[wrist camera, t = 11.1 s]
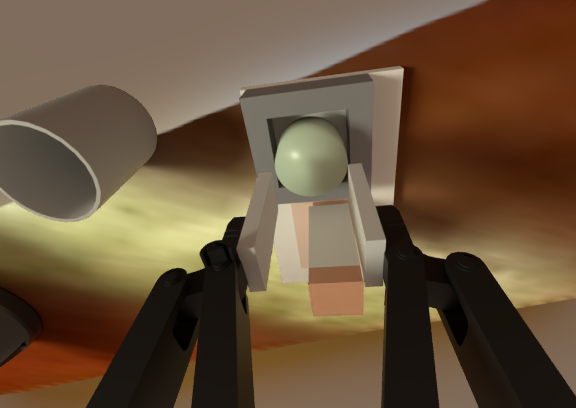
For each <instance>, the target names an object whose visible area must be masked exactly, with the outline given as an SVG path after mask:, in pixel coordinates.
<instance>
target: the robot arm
mask: <svg viewBox="0 0 576 408" xmlns="http://www.w3.org/2000/svg"><path fill="white" fill-rule="evenodd" d="M348 183H349V206H350V211H351V216H352V221H353V226H354V231H355V236H356V241H357V246H358V252H359V257H360V262H361V267H362V272H363V277H364V282H365V287H373V286H383V279H384V283H385V287H386V289H385V302H384V305H385V312H384V342H383V372H382V402H381V408H439V400H438V391H437V381H436V373H435V362H434V353H433V343H432V333H431V324H430V314H429V307H432V308H436V309H437V311H438V313H439V315H440V318H441V320H442V322H443V325H444V327H445V329H446V332H447V334H448V336H449V339H450V341H451V343H452V346H453V348H454V350H455V353H456V355H457V358H458V360H459V362H460V365H461V367H462V369H463V372H464V374H465V376H466V379H467V381H468V383H469V386H470V388H471V390H472V392H473V395H474V397H475V399H476V402H477V404H478V407H479V408H576V396H575V394H574V393H573V392H572V390H571V389H570V387H569V386H568V384H567V383H566V381H565V380H564V378H563V377H562V375H561V374H560V373H559V371H558V370H557V368H556V367H555V365H554V364H553V362H552V361H551V359H550V358H549V357H548V355H547V354H546V352H545V351H544V349H543V348H542V346H541V345H540V344H539V342H538V341H537V339H536V338H535V336H534V335H533V333H532V332H531V330H530V329H529V327H528V326H527V324H526V323H525V322H524V320H523V319H522V317H521V316H520V314H519V313H518V311H517V310H516V308H515V307H514V306H513V304H512V303H511V301H510V300H509V298H508V297H507V295H506V294H505V292H504V291H503V290H502V288H501V287H500V285H499V284H498V282H497V281H496V279H495V278H494V276H493V275H492V274H491V272H490V271H489V269H488V268H487V266H486V265H485V263H484V262H483V261H482V260H481V259H480V258H478V257H476V256H474V255H473V254H469V253H466V252H455V253H451V254H450V255H448V256H447V258H446V259H441V258H435V257H431V256H427V255H425V254H423V253H422V251H421V250H420V249H419V248H418V247H416V246H414V245H413V242H412V240H411V238H410V235H409V233H408V231H407V228H406V226H405V225H404V221H403V219H402V217H401V214H400V212H399V210H398V209H396V208H395V207H394V206H393V205H383V206H375V204H374V201H373V198H372V195H371V191H370V188H369V185H368V182H367V179H366V176H365V173H364V170H363V167H362V163H358V164H348ZM277 215H278V204H277V199H276V194H275V188H274V183H273V178H272V173H271V172H264V173H259V174H258V178H257V181H256V184H255V188H254V191H253V195H252V198H251V201H250V205H249V208H248V211H247V215H246V217H234V218H233V219H232V220H231V221H230V222H229V223H228V225H227V228H226V232H225V233H224V237H223V239H222V240H217V241H213V242H210V243H208V244H207V245H205V246H204V247H203V248H202V249H201V251H200V257H201V259H202V261H203V264H204V266H205V268H204V269H201V270H199V271H196V272H192V273H189V274H187V272H186V270H184V269H182V268H175V269H171V270H169V271H166V272H165V273H164V274H162V275H161V276H160V278H159V279H158V280H157V282H156V284H155V285H154V287H153V289H152V291H151V293H150V294H149V296H148V298H147V300H146V301H145V303H144V305H143V307H142V309H141V310H140V312H139V314H138V316H137V317H136V319H135V321H134V323H133V325H132V326H131V328H130V330H129V332H128V333H127V335H126V337H125V339H124V341H123V342H122V344H121V346H120V348H119V350H118V351H117V353H116V355H115V357H114V358H113V360H112V362H111V364H110V366H109V367H108V369H107V371H106V373H105V374H104V376H103V378H102V380H101V382H100V383H99V385H98V387H97V389H96V390H95V392H94V394H93V396H92V398H91V400H90V401H89V403H88V405H87V407H86V408H173V407H174V404H175V401H176V399H177V396H178V393H179V390H180V387H181V384H182V381H183V378H184V376H185V372H186V370H187V367H188V364H189V361H190V358H191V355H192V352H193V349H194V347H195V344H196V341H197V338H198V345H197V355H196V365H195V375H194V385H193V396H192V405H191V408H255V403H254V387H253V371H252V357H251V339H250V323H249V308H248V298H247V295H246V290H247V285H248V287H249V290H250V292H253V291H266V287H267V281H268V274H269V268H270V261H271V254H272V248H273V241H274V235H275V228H276V222H277ZM41 330H42V323H41V320H40V318H39V317H38V315H37V314H36V313H35V311H34V310H33V309H32V308H31V307H29V306H28V305H27V304H26V303H24V302H23V301H22V300H20V299H19V298H17V297H16V296H14V295H12V294H11V293H9V292H7V291H5V290H3V289H1V288H0V367H1V366H3V365H4V364H5V363H7V362H8V361H10V360H11V359H12V358H14V357H15V356H16V355H17V354H19V353H20V352H21V351H23V350H24V349H26V348H27V347H28V346H29V345H30V344H31V343H32V342H33V340H34V339H35V338H36V337H37V336H38V334H39V333H40V332H41Z"/></svg>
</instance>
